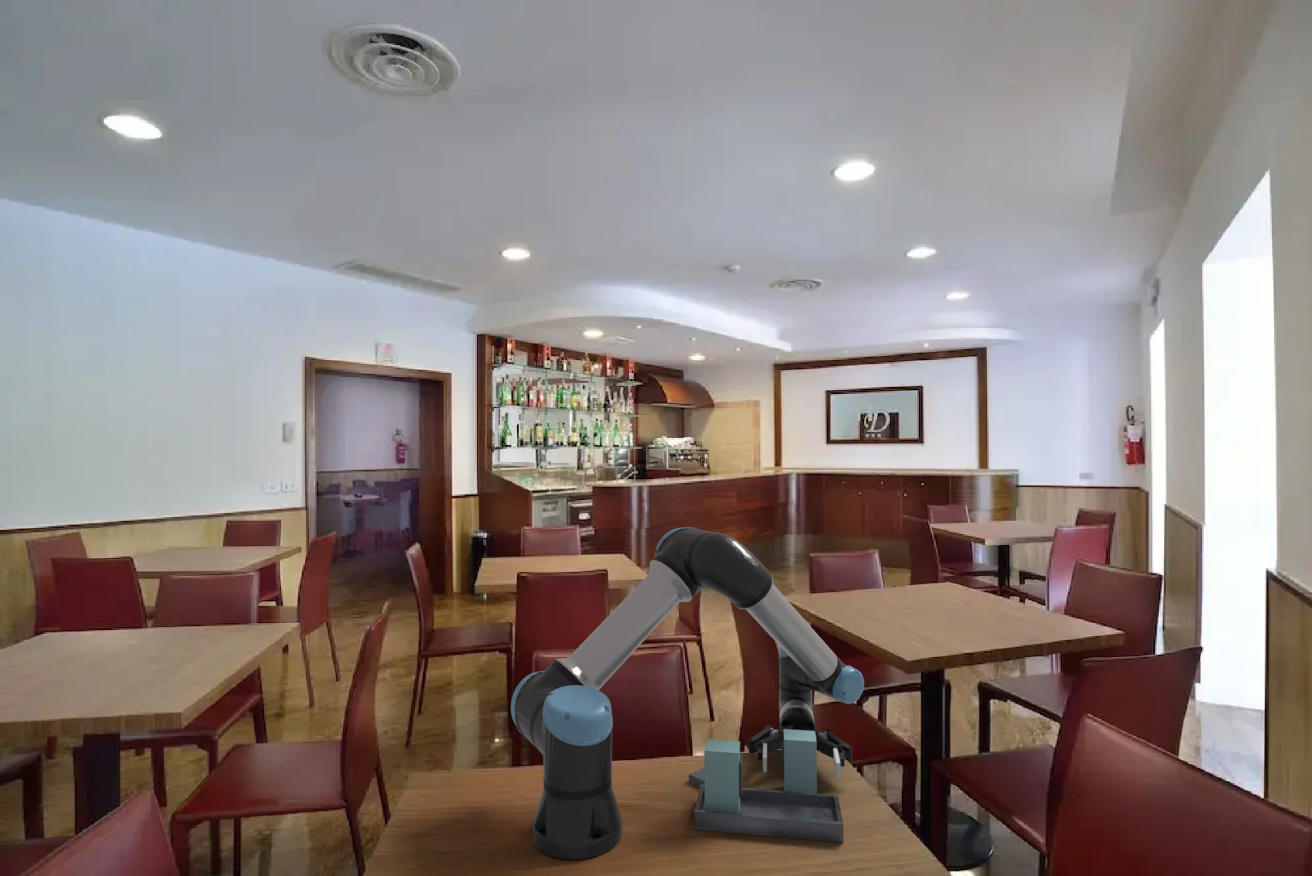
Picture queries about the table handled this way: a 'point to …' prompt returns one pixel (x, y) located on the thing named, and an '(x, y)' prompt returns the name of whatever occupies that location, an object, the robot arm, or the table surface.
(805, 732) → the finger
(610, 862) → the table surface
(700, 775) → the bracket
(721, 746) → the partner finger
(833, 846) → the table surface
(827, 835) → the dark gray tray
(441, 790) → the table surface
